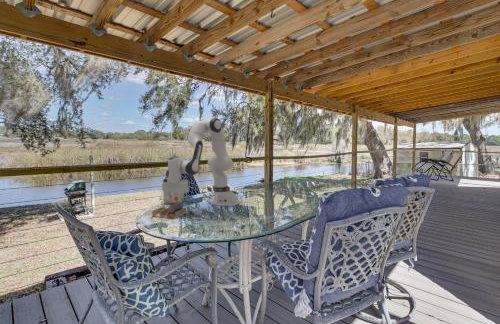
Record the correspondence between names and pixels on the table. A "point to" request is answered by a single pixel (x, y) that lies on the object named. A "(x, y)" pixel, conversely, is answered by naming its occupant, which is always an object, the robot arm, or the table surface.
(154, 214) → the rack
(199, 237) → the table surface
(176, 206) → the blanking panel
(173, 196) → the cracker box
